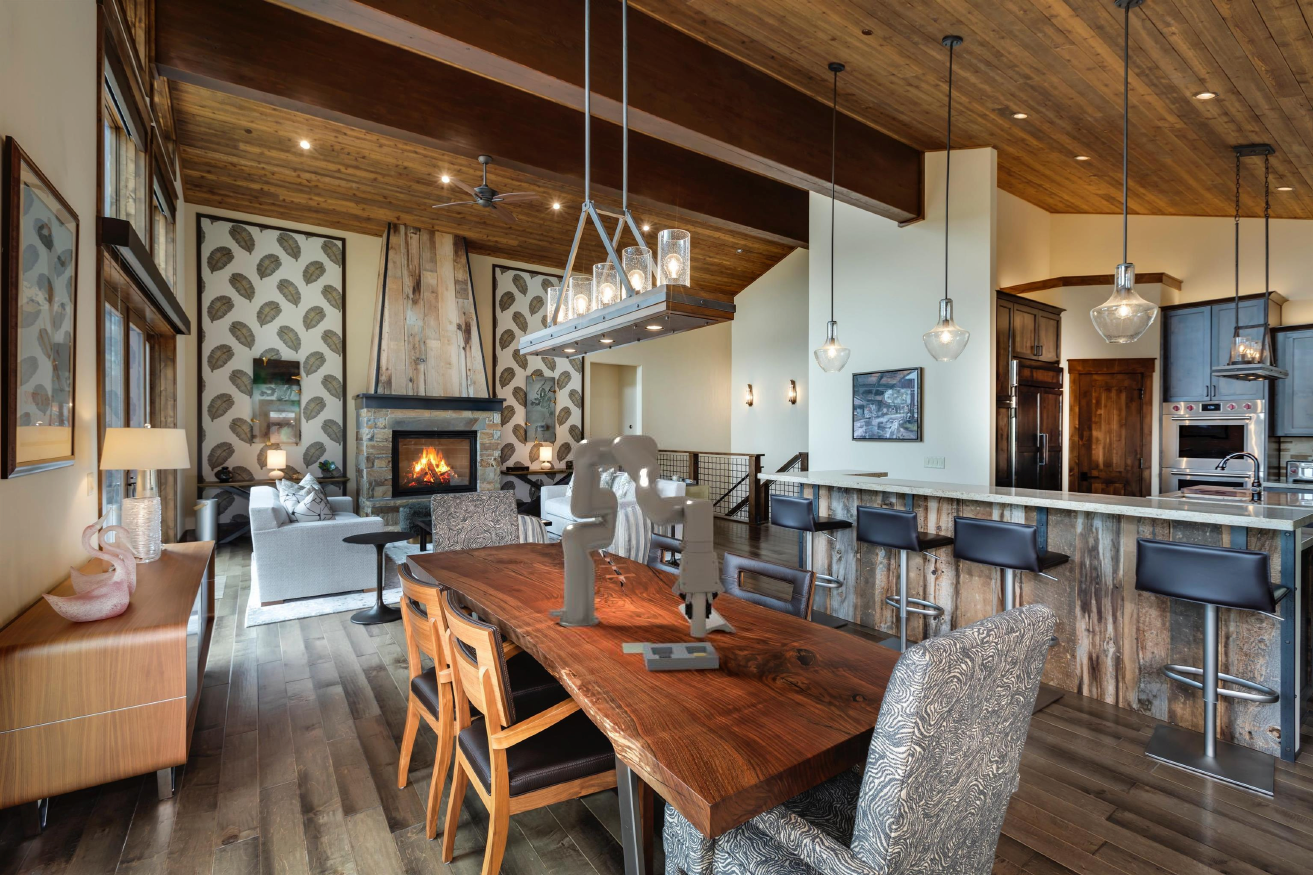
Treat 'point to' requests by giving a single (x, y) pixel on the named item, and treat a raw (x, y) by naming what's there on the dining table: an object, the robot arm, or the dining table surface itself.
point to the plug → (698, 615)
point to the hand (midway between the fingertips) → (698, 617)
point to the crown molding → (713, 621)
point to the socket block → (680, 656)
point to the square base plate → (633, 647)
